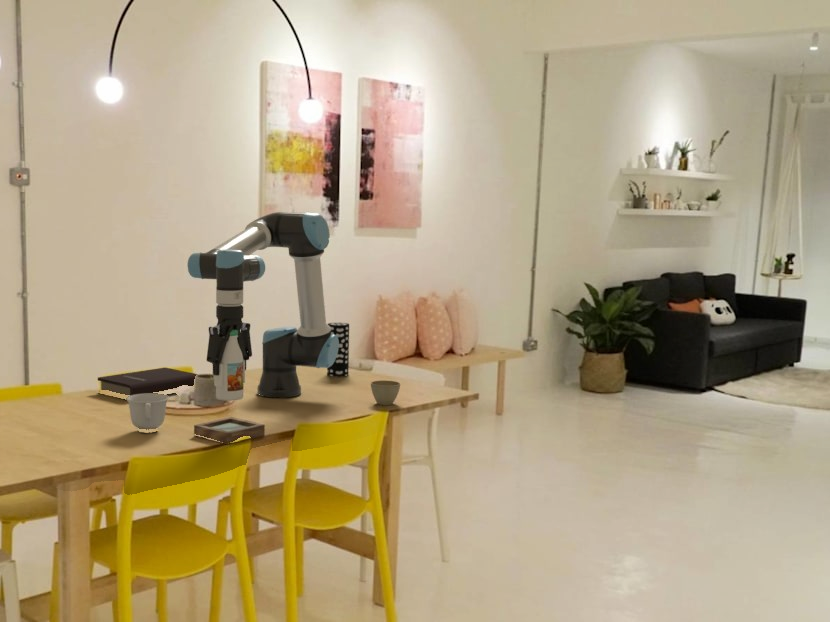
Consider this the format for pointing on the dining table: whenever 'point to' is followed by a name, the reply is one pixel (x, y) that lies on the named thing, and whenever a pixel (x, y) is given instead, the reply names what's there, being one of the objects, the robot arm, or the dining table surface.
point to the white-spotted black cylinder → (340, 350)
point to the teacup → (147, 410)
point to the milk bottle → (231, 371)
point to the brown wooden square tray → (229, 429)
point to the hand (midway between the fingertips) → (229, 384)
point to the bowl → (385, 391)
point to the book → (147, 381)
